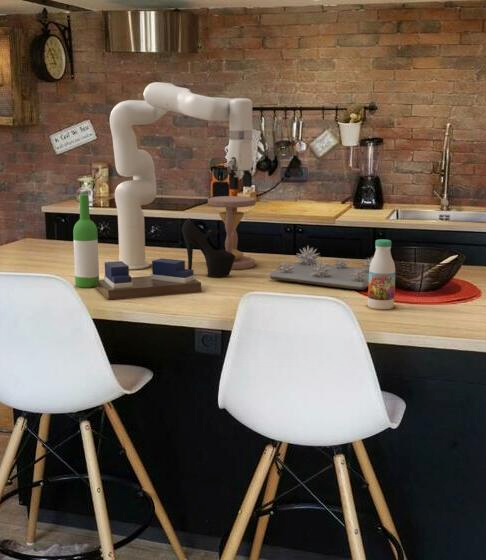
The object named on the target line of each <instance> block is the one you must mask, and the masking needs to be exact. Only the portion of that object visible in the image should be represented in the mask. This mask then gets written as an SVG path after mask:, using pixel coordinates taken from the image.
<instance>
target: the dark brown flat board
mask: <svg viewBox="0 0 486 560" xmlns="http://www.w3.org/2000/svg"><path fill="white" fill-rule="evenodd" d="M131 282H132V283H133V287H128V288H116V289H113V288H112V287H111V286H110V285H109V284H108V283H107V282H106V281H104V278H103V279H99V280H97V286H96V288H97V290H98V291H99V292H100V294H102V295H103V296H104V298H106V299H107V300H108V301H111V300H112V301H113V300H123V299H135V298H145V297H146V298H147V297H157V296H169V295H178V294H180V295H181V294H192V293H201V292H202V282H201V281H200V280H198V279H196V278H195V280H192V281H189V282H187V283H180V282H171V281H163V280H155V279H151V275H143V276H131Z"/></svg>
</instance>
